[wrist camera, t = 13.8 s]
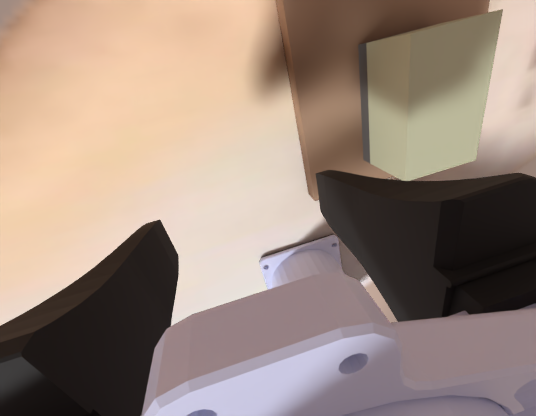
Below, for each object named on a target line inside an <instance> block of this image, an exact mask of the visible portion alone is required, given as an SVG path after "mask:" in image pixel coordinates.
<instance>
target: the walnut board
mask: <svg viewBox="0 0 536 416" xmlns="http://www.w3.org/2000/svg"><path fill="white" fill-rule="evenodd" d="M489 1H490V0H276V5H277V11H278V17H279V22H280V28H281V34H282V40H283V46H284V52H285V58H286V63H287V69H288V75H289V81H290V87H291V93H292V99H293V104H294V110H295V116H296V122H297V128H298V134H299V140H300V145H301V151H302V157H303V163H304V169H305V175H306V181H307V187H308V192H309V195H310V196H311V197H312V198H313V199H314V200H315V201H316V200H319V195H318V188H317V181H316V173H319V172H322V171H326V170H336V171H342V172H347V173H352V174H357V175H362V176H368V177H374V178H381V179H387V178H390V177H393V176H392V175H391V174H389V173H387V172H385V171H383V170H381V169H379V168H378V167H376V166H374V165H372V164H370V163H368V162H366V161H364V160H363V140H362V118H361V96H360V75H359V53H358V45H359V44H363V43H367V42H371V41H375V40H378V39H382V38H386V37H390V36H393V35H397V34H401V33H405V32H408V31H412V30H416V29H420V28H424V27H427V26H432V25H436V24H440V23H445V22H449V21H454V20H458V19H462V18H467V17H471V16H476V15H480V14H484V13H488V8H489Z"/></svg>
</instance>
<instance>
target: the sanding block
mask: <svg viewBox="0 0 536 416" xmlns="http://www.w3.org/2000/svg"><path fill="white" fill-rule="evenodd" d="M502 12H503V9H502V10H498V11H493V12H489V13H484V14H480V15H476V16H471V17H467V18H462V19H458V20H454V21H449V22H445V23H440V24H436V25H432V26H427V27H424V28H420V29H416V30H412V31H408V32H405V33H401V34H397V35H393V36H390V37H386V38H382V39H378V40H375V41H371V42H367V43H363V44H359V45H358V53H359V75H360V96H361V118H362V140H363V160H364V161H366V162H368V163H370V164H372V165H374V166H376V167H378V168H379V169H381V170H383V171H385V172H387V173H389V174H391V175H392V176H394V177H396V178H398V179H400V180H402V181H411V180H414V179H417V178H420V177H424V176H427V175H430V174H433V173H436V172H440V171H443V170H446V169H449V168H452V167H456V166H459V165H462V164H465V163H469V162H472V161H475V160H476V156H477V151H478V145H479V140H480V134H481V129H482V123H483V117H484V112H485V106H486V101H487V95H488V90H489V84H490V78H491V73H492V67H493V62H494V56H495V51H496V45H497V39H498V34H499V28H500V23H501V17H502Z"/></svg>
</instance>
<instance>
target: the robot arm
mask: <svg viewBox="0 0 536 416" xmlns="http://www.w3.org/2000/svg"><path fill="white" fill-rule="evenodd" d="M316 181H317V188H318V195H319V202H320V209H321V213H322V214H323V216H324V218H325V219H326V221H327V223H328V224H329V226H330V227H331V228H332V230H333V231H334V232H335V233H336V234H337V236H338V237H339V238H340V239H341V240H342V241H343V243H344V244H345V245H346V246H347V247H348V248H349V250H350V251H351V252H352V253H353V254H354V255H355V257H356V258H357V259H358V260H359V262H360V263H361V264H362V266H363V267H364V269H365V270H366V272H367V273H368V275H369V276H370V278H371V279H372V281H373V282H374V284H375V285H376V287H377V288H378V290H379V291H380V293H381V295H382V296H383V298H384V299H385V301H386V303H387V304H388V306H389V307H390V309H391V311H392V312H393V314H394V316H395V318H396V319H397V321H398V322H392V323H390V322H389V320H388V319H387V318H386V316H385V315H384V314H383V312H382V311H381V310H380V308H379V307H378V306H377V304H376V303H375V302H374V300H373V299H372V297H371V296H370V295H369V293H368V292H367V291H366V289H365V288H364V287H363V285H362V284H361V283H360V281H359V280H357V279H355V278H352V277H350V276H347V275H346V274H345V273H344V271H343V270H342V265H341V257H340V248H339V240H338V237H337V236H336V235H331V236H328V237H325V238H321V239H318V240H315V241H312V242H309V243H306V244H303V245H300V246H297V247H294V248H291V249H288V250H284V251H281V252H278V253H275V254H272V255H269V256H266V257H263V258H261V259H260V261H259V263H260V267H261V270H262V273H263V276H264V279H265V282H266V285H267V288H268V290H265V291H262V292H259V293H256V294H253V295H250V296H247V297H244V298H241V299H238V300H235V301H232V302H229V303H226V304H223V305H220V306H217V307H214V308H210V309H207V310H204V311H201V312H198V313H195V314H192V315H191V316H189V317H187V318H185V319H183V320H182V321H180V322H178V323H176V324H174V325H173V326H171V318H172V312H173V306H174V300H175V294H176V287H177V281H178V267H179V265H178V254H177V252H176V250H175V248H174V246H173V244H172V242H171V240H170V238H169V236H168V234H167V232H166V230H165V228H164V226H163V224H162V222H161V220H157V221H154V222H150V223H147V224H145V225H143V226H142V227H141V228H139V229H138V230H137V231H136V232H135V233H133V234H132V235H131V236H130V237H129V238H128V239H127V240H126V241H124V242H123V243H122V244H121V245H120V246H119V247H118V248H117V249H115V250H114V251H113V252H112V253H111V254H110V255H108V256H107V257H106V258H105V259H104V260H102V261H101V262H100V263H99V264H98V265H96V266H95V267H94V268H93V269H91V270H90V271H89V272H87V273H86V274H85V275H83V276H82V277H81V278H79V279H78V280H76V281H75V282H74V283H72V284H71V285H69V286H68V287H66V288H65V289H63V290H62V291H60V292H58V293H57V294H55V295H54V296H52V297H50V298H49V299H47V300H46V301H44V302H42V303H41V304H39V305H37V306H36V307H34V308H32V309H30V310H29V311H27V312H25V313H23V314H22V315H20V316H18V317H16V318H14V319H12V320H11V321H9V322H7V323H5V324H3V325H1V326H0V416H536V178H535V177H532V176H529V175H526V174H522V173H513V174H505V175H498V176H491V177H483V178H476V179H464V180H451V181H402V180H389V179H381V178H374V177H368V176H362V175H357V174H352V173H347V172H342V171H336V170H326V171H322V172H319V173H316ZM333 243H335V244H334V245H332V244H333ZM265 265H268V266H267V267H264V266H265Z"/></svg>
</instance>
